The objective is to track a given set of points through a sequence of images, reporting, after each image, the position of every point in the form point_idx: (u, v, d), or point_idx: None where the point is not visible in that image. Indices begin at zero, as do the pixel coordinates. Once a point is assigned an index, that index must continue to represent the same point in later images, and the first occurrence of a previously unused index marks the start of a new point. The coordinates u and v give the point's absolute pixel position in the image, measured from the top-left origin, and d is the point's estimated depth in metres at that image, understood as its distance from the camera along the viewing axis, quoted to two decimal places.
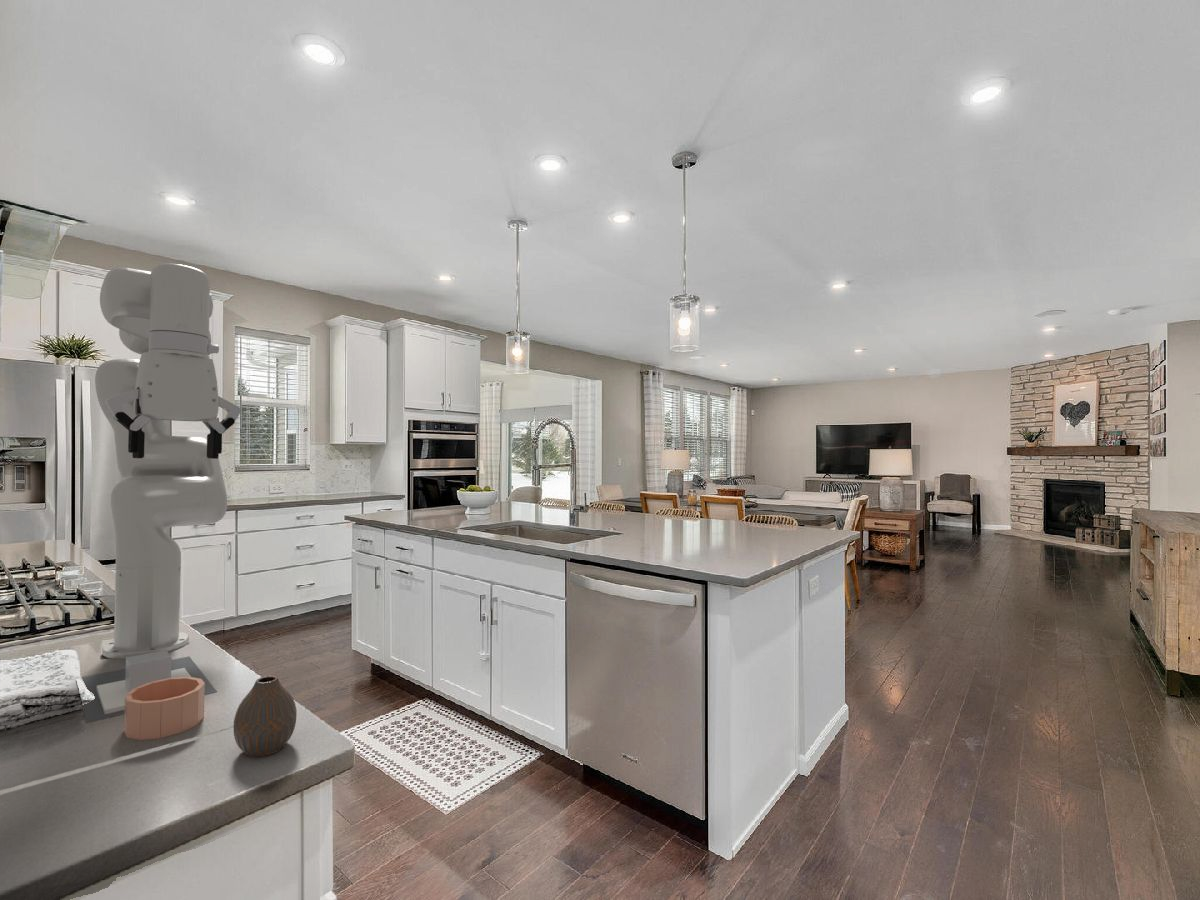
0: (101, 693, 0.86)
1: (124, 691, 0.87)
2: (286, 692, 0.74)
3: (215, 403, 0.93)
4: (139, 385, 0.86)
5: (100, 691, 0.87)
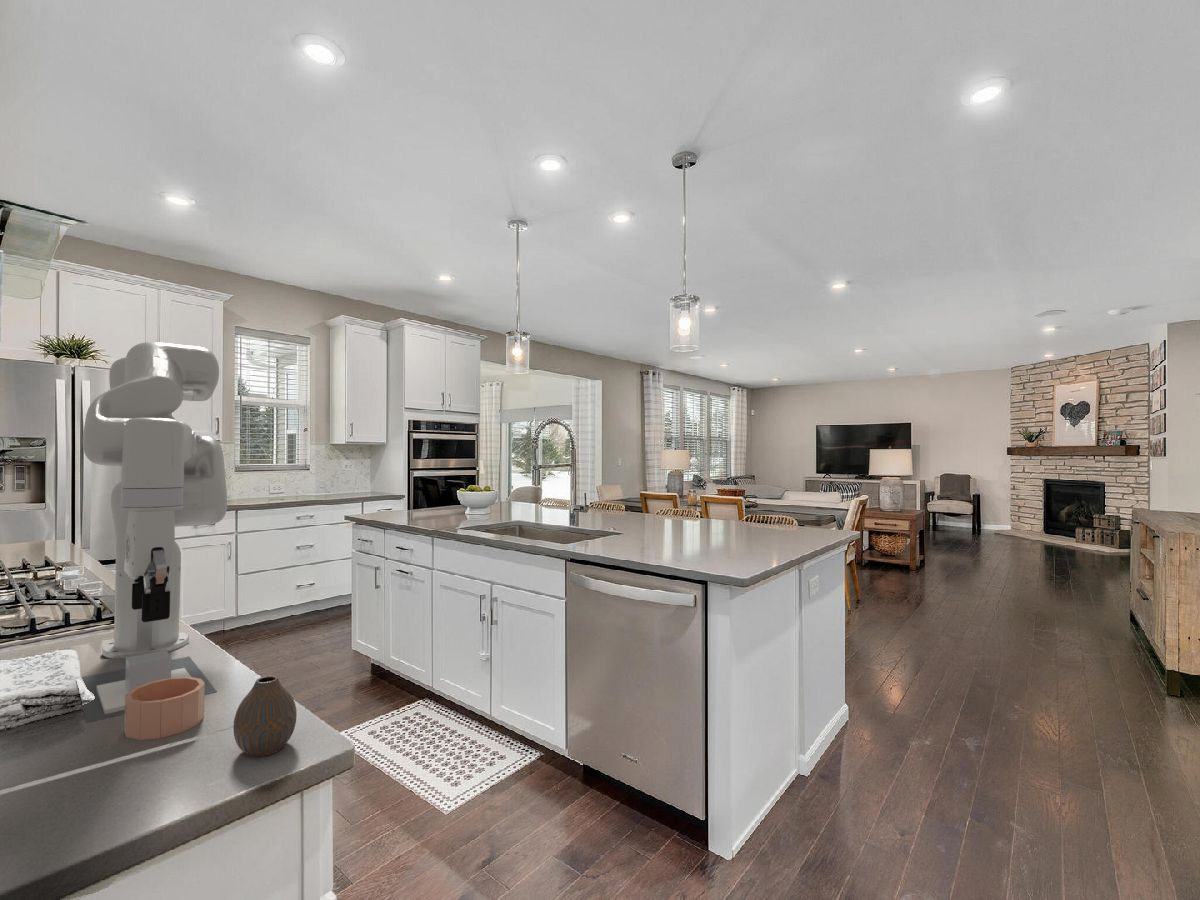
0: (101, 693, 0.86)
1: (124, 691, 0.87)
2: (286, 692, 0.74)
3: None
4: (162, 545, 0.85)
5: (100, 691, 0.87)
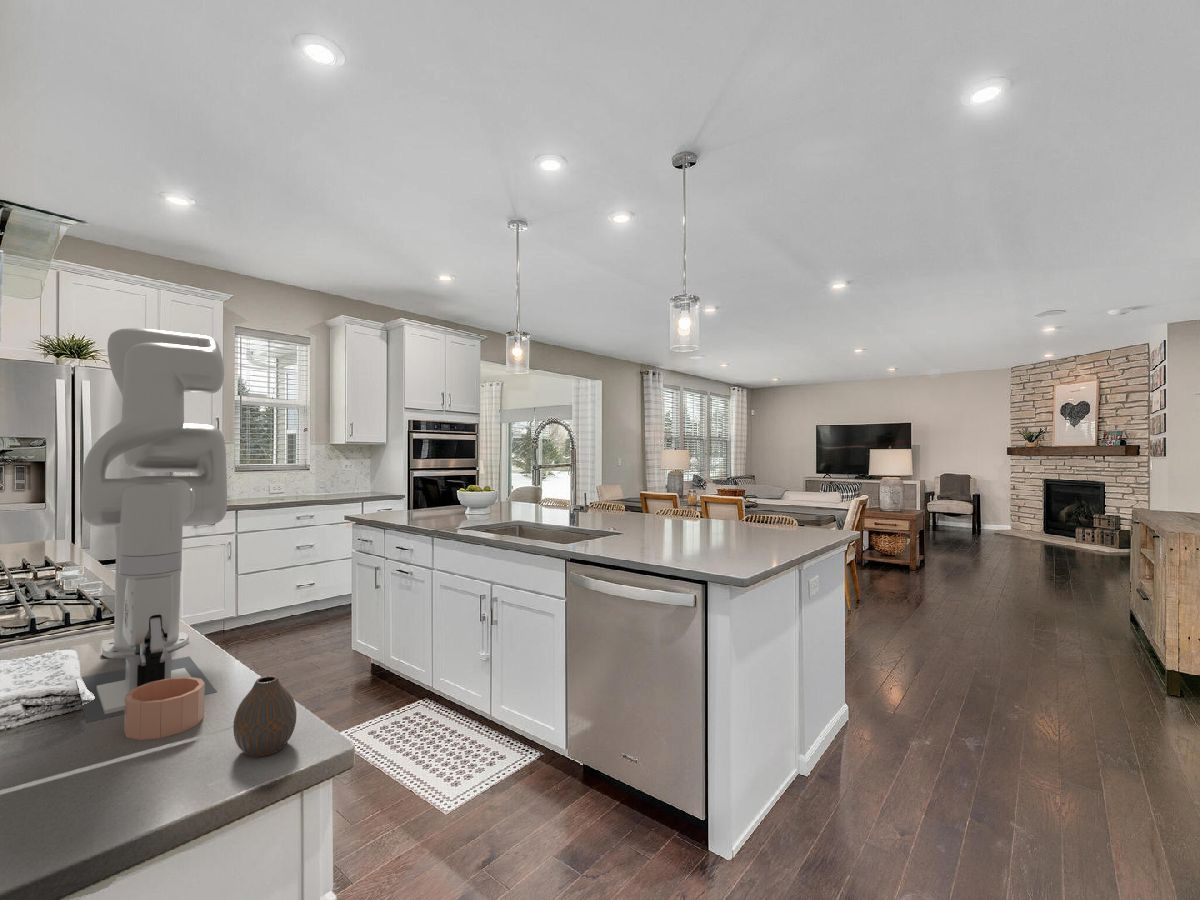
0: (101, 693, 0.86)
1: (124, 691, 0.87)
2: (286, 692, 0.74)
3: None
4: (160, 612, 0.85)
5: (100, 691, 0.87)
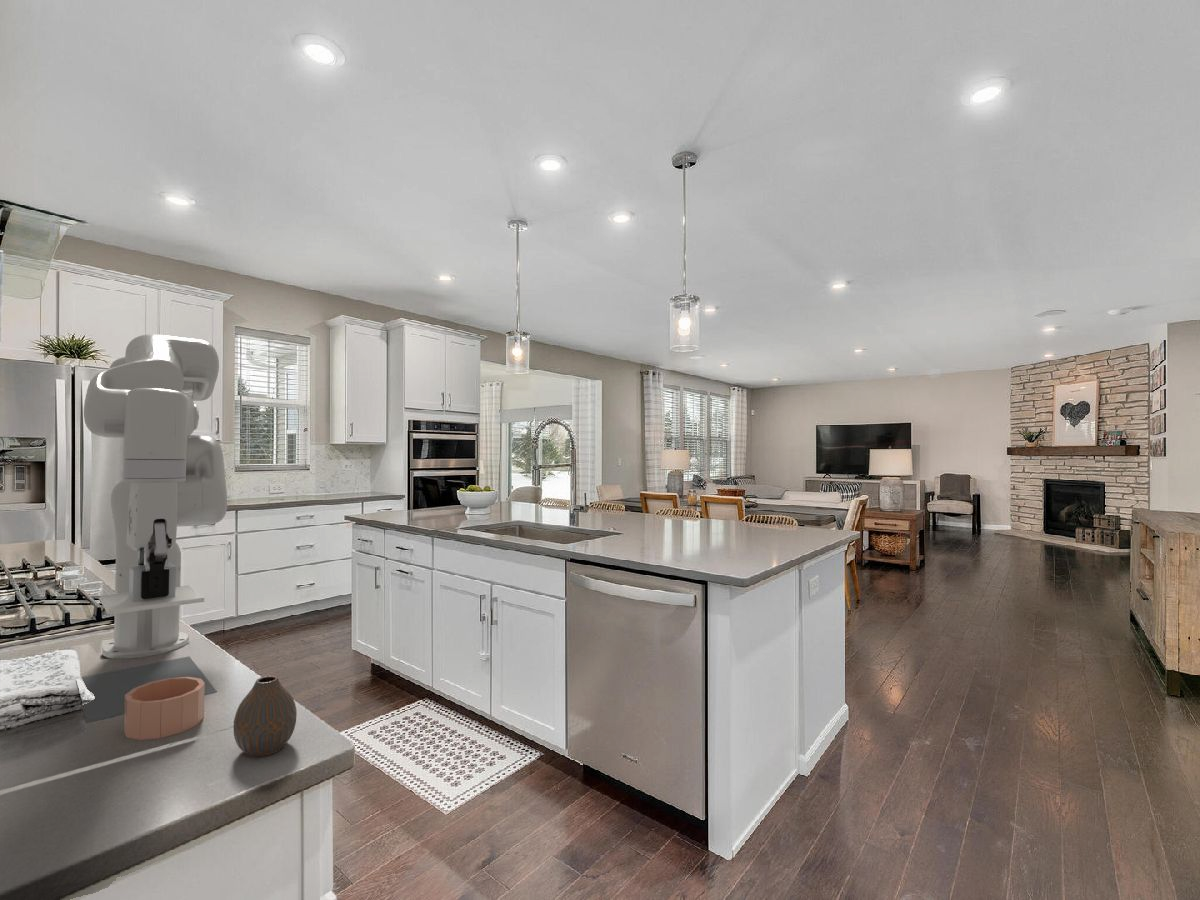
0: (104, 600, 0.85)
1: (128, 599, 0.85)
2: (286, 692, 0.74)
3: None
4: (164, 517, 0.84)
5: (104, 599, 0.85)
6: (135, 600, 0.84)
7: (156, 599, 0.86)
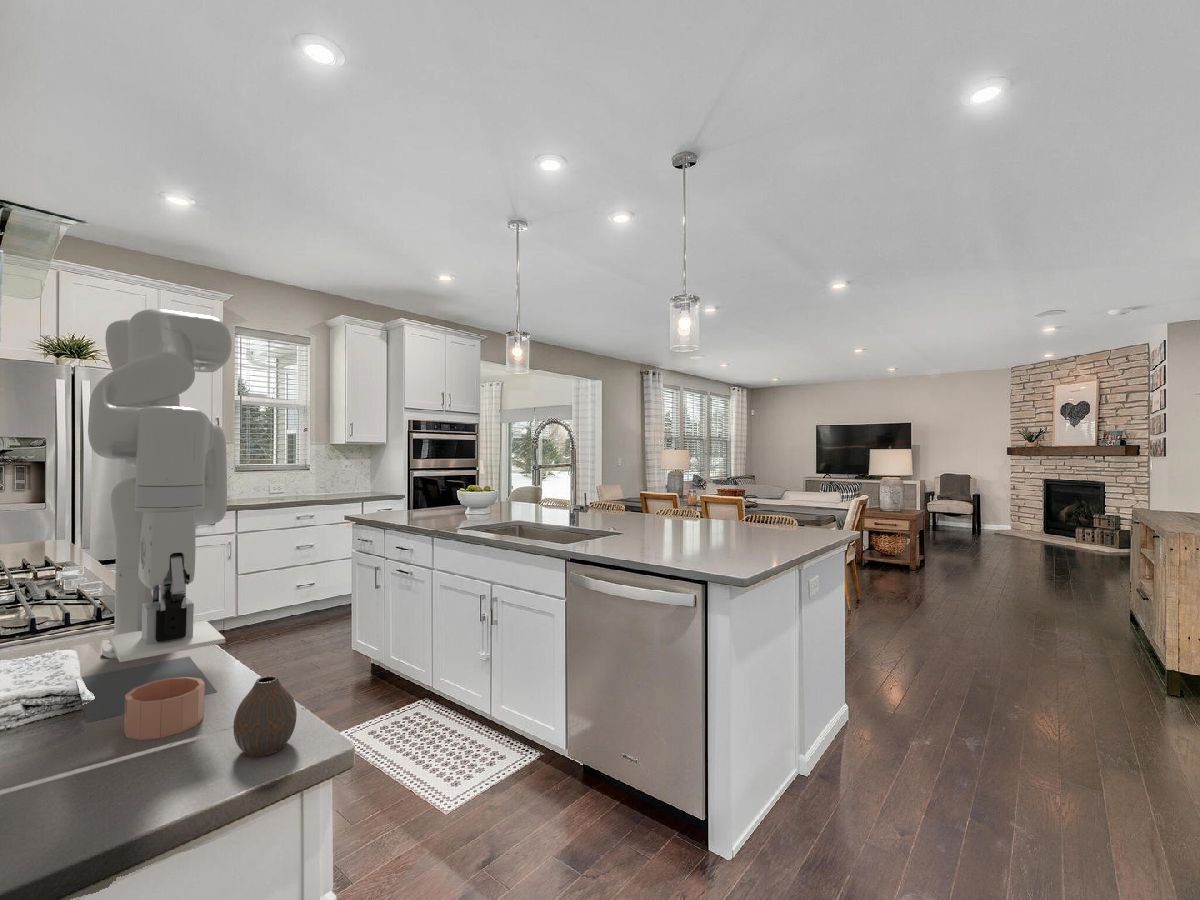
0: (115, 642, 0.76)
1: (140, 640, 0.77)
2: (286, 692, 0.74)
3: None
4: (182, 550, 0.75)
5: (114, 640, 0.76)
6: (149, 642, 0.76)
7: (172, 640, 0.77)
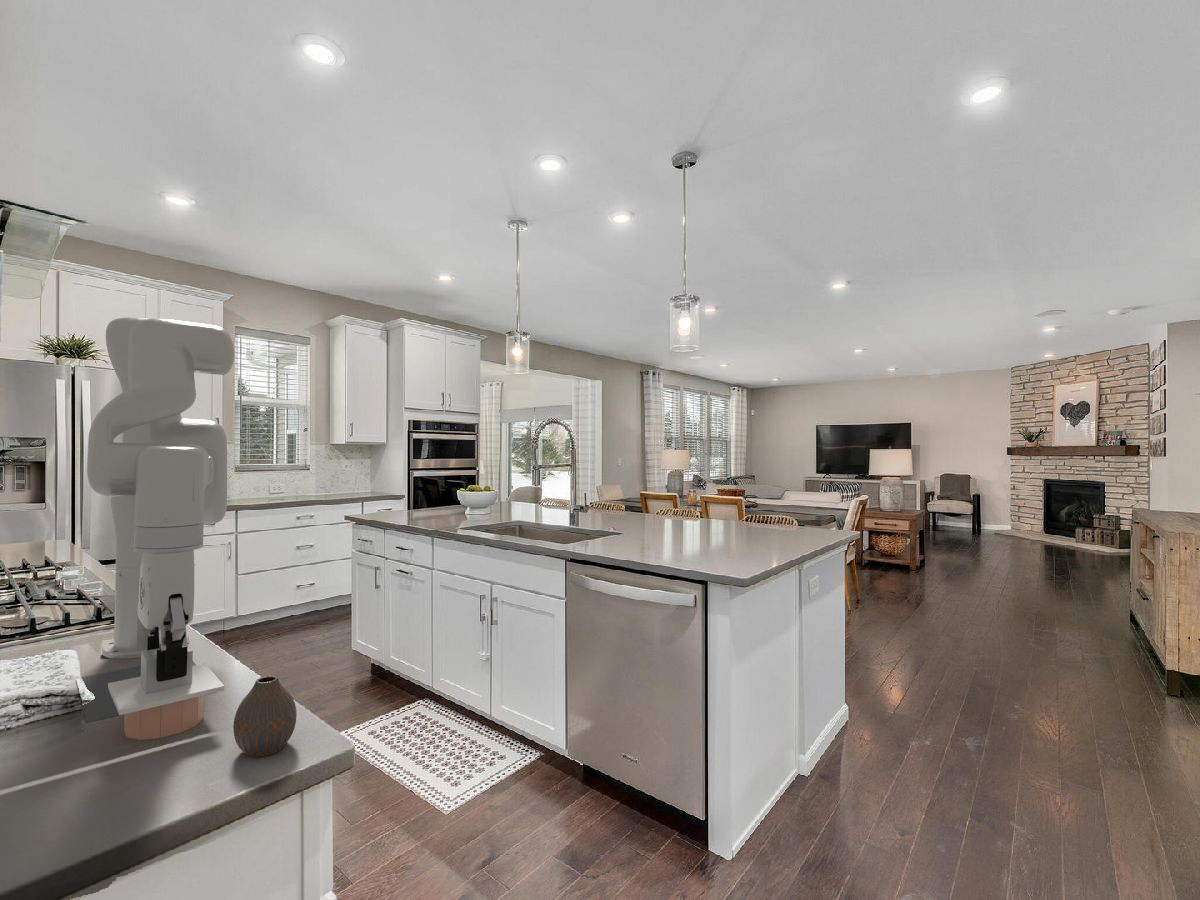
0: (114, 691, 0.76)
1: (139, 689, 0.77)
2: (286, 692, 0.74)
3: None
4: (180, 591, 0.76)
5: (113, 689, 0.77)
6: (148, 692, 0.76)
7: (171, 689, 0.77)
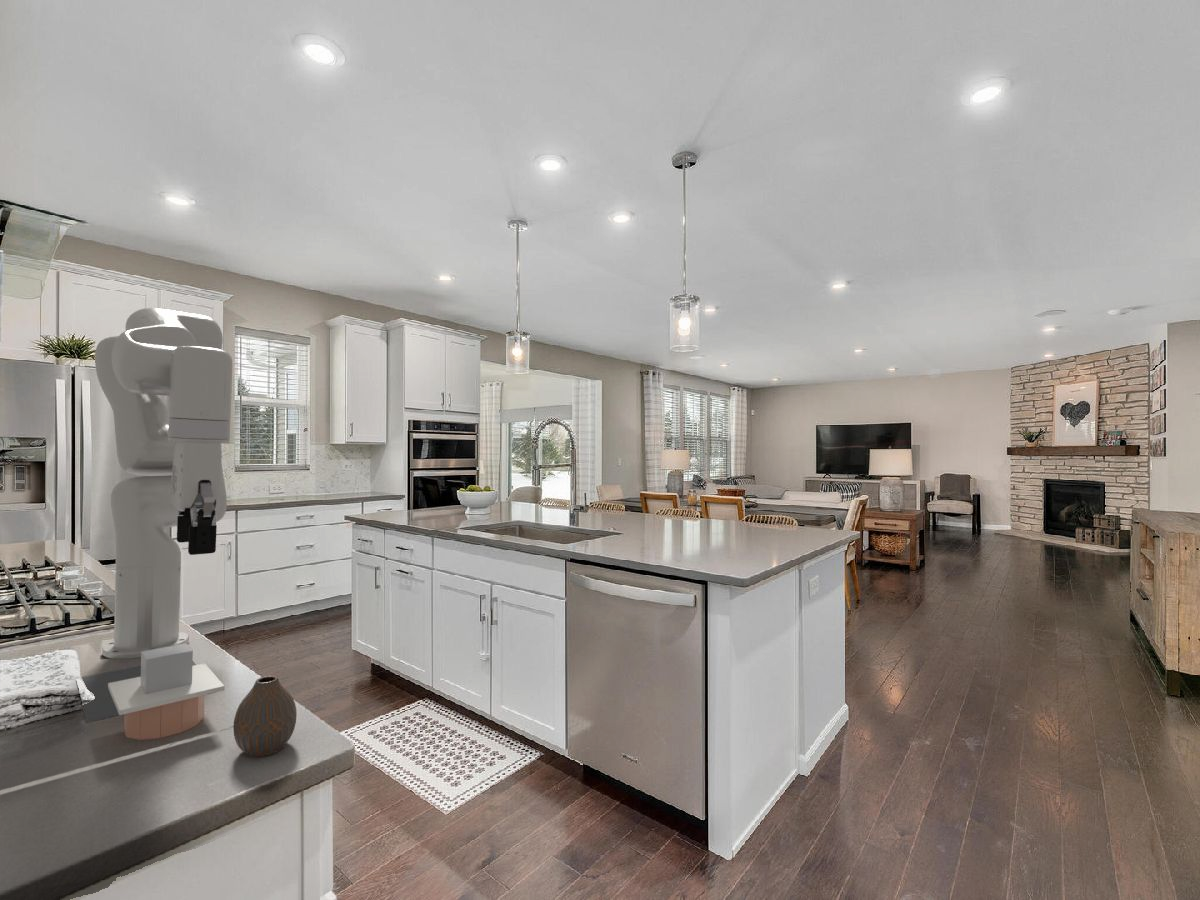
0: (114, 691, 0.76)
1: (139, 689, 0.77)
2: (286, 692, 0.74)
3: None
4: (209, 478, 0.83)
5: (113, 689, 0.77)
6: (148, 692, 0.76)
7: (171, 689, 0.77)
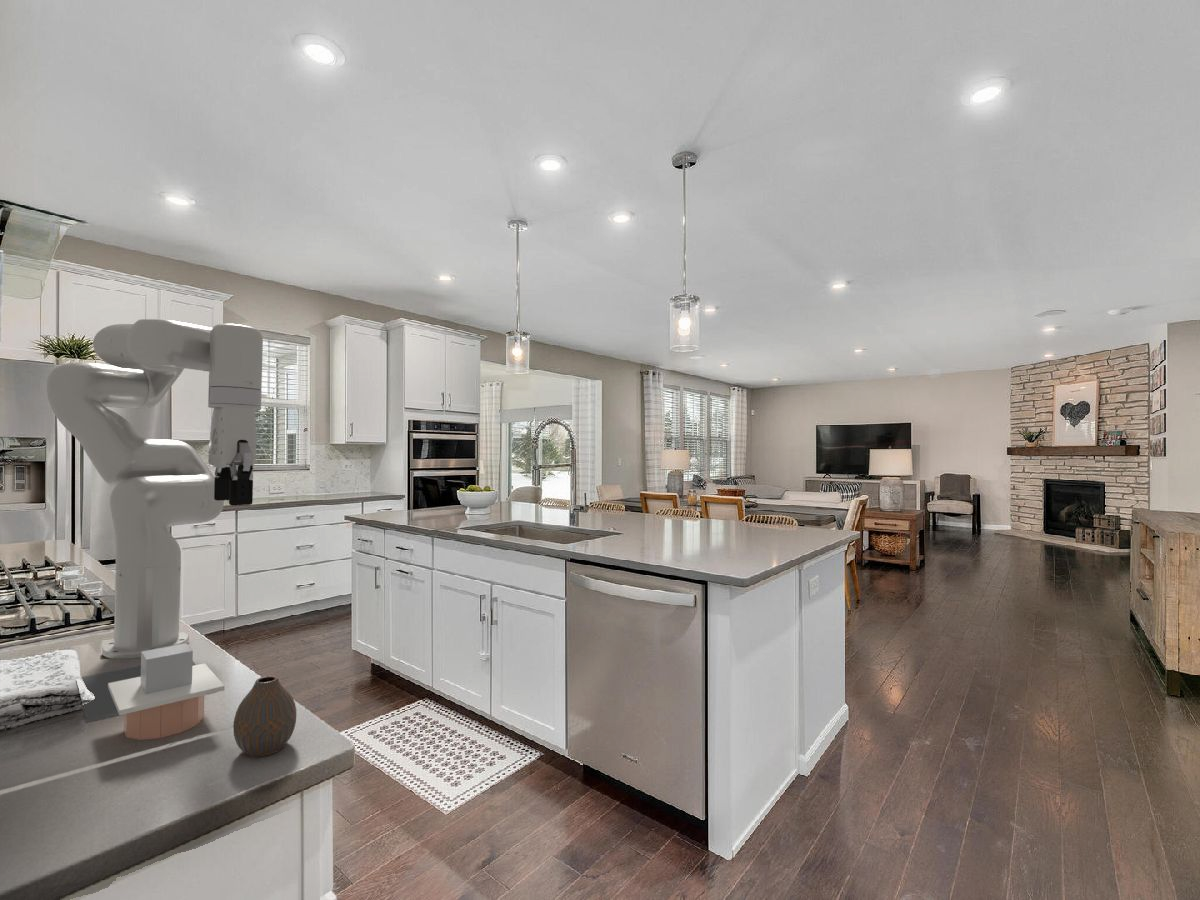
0: (114, 691, 0.76)
1: (139, 689, 0.77)
2: (286, 692, 0.74)
3: None
4: (246, 438, 0.95)
5: (113, 689, 0.77)
6: (148, 692, 0.76)
7: (171, 689, 0.77)
